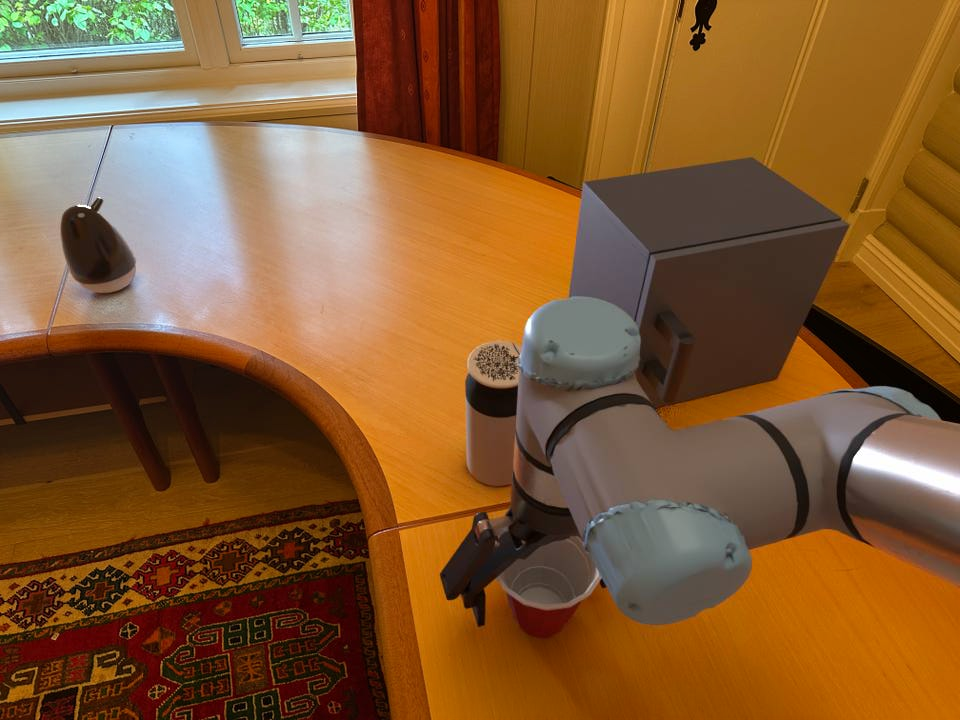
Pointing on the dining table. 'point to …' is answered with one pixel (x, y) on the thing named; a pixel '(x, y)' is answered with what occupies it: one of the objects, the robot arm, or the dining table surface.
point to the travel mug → (492, 411)
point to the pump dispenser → (95, 249)
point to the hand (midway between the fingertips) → (540, 594)
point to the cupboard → (677, 220)
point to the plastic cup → (549, 586)
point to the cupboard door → (728, 310)
